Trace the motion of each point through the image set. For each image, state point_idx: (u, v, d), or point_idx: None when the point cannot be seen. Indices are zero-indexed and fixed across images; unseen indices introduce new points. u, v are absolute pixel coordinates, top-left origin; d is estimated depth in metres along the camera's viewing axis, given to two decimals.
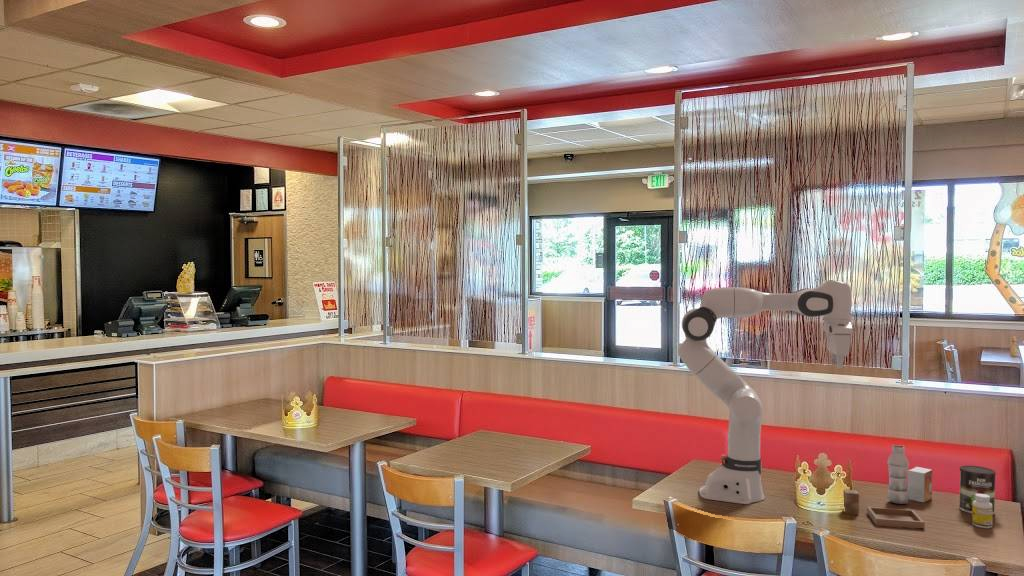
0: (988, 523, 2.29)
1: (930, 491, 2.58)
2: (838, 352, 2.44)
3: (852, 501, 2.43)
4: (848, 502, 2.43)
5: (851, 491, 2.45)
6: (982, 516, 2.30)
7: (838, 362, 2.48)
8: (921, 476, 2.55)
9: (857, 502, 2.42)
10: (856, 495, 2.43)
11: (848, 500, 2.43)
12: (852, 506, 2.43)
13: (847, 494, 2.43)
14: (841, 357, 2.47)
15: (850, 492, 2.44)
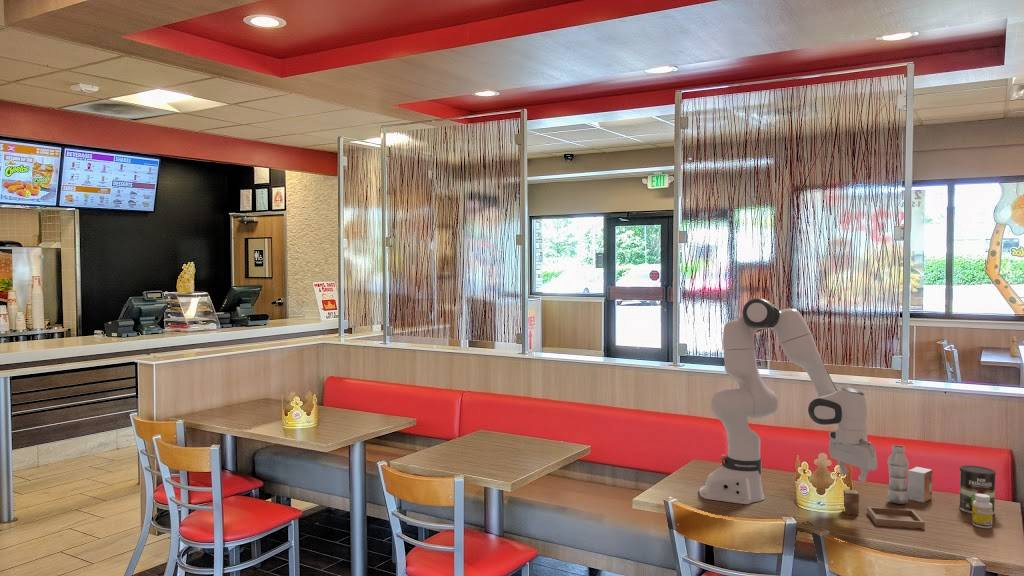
0: (988, 523, 2.29)
1: (930, 491, 2.58)
2: None
3: (852, 501, 2.43)
4: (848, 502, 2.43)
5: (851, 491, 2.45)
6: (982, 516, 2.30)
7: None
8: (921, 476, 2.55)
9: (857, 502, 2.42)
10: (856, 495, 2.43)
11: (848, 500, 2.43)
12: (852, 506, 2.43)
13: (847, 494, 2.43)
14: None
15: (850, 492, 2.44)
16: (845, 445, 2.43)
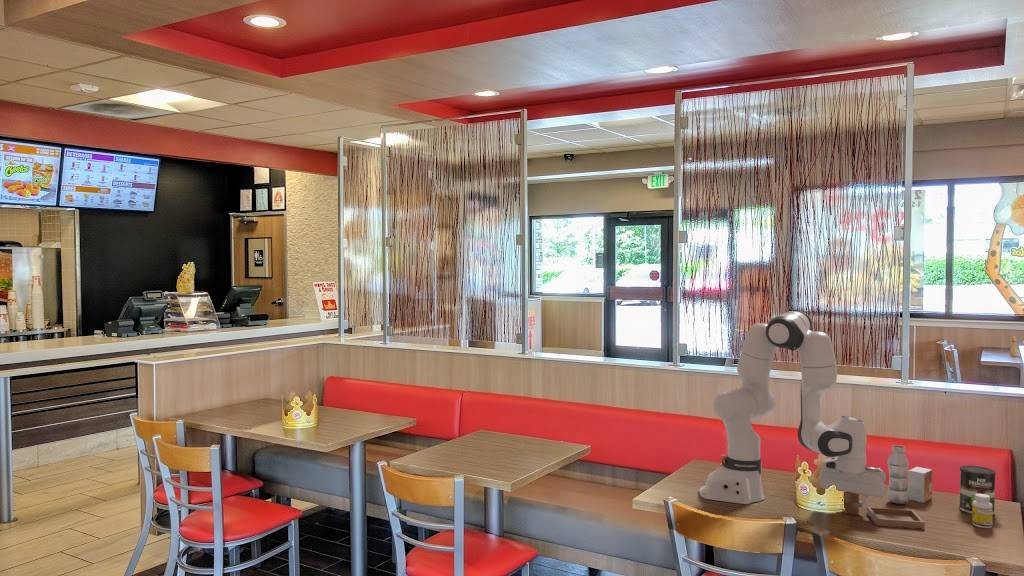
0: (988, 523, 2.29)
1: (930, 491, 2.58)
2: None
3: (852, 501, 2.43)
4: (848, 502, 2.43)
5: None
6: (982, 516, 2.30)
7: None
8: (921, 476, 2.55)
9: (857, 502, 2.42)
10: (856, 495, 2.43)
11: (848, 500, 2.43)
12: (852, 506, 2.43)
13: (847, 494, 2.43)
14: None
15: None
16: (851, 474, 2.42)
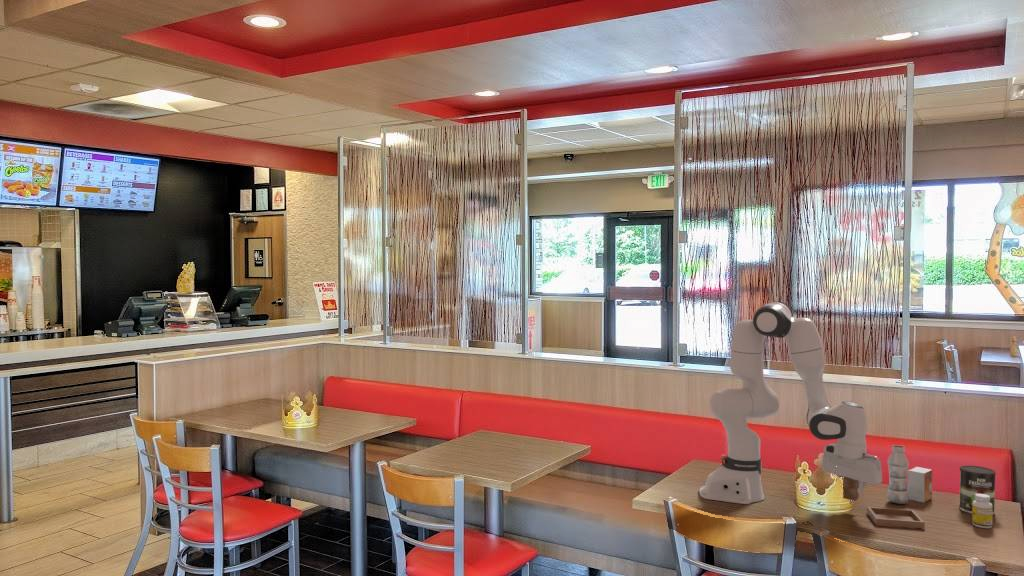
0: (988, 523, 2.29)
1: (930, 491, 2.58)
2: None
3: (849, 486, 2.43)
4: (845, 487, 2.44)
5: None
6: (982, 516, 2.30)
7: None
8: (921, 476, 2.55)
9: (854, 488, 2.42)
10: (853, 481, 2.43)
11: (845, 485, 2.44)
12: (849, 491, 2.43)
13: (844, 479, 2.44)
14: None
15: None
16: (847, 459, 2.43)
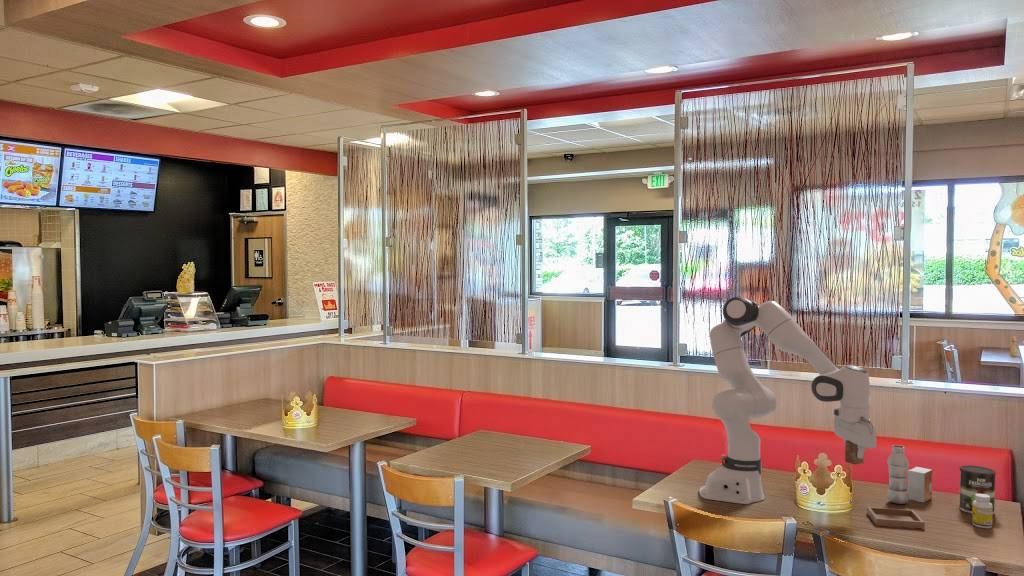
0: (989, 523, 2.29)
1: (930, 491, 2.58)
2: None
3: (850, 450, 2.43)
4: (847, 450, 2.44)
5: None
6: (982, 516, 2.30)
7: None
8: (921, 476, 2.55)
9: (854, 452, 2.42)
10: (853, 444, 2.42)
11: (847, 448, 2.44)
12: (850, 455, 2.43)
13: (846, 442, 2.45)
14: None
15: None
16: (846, 422, 2.43)
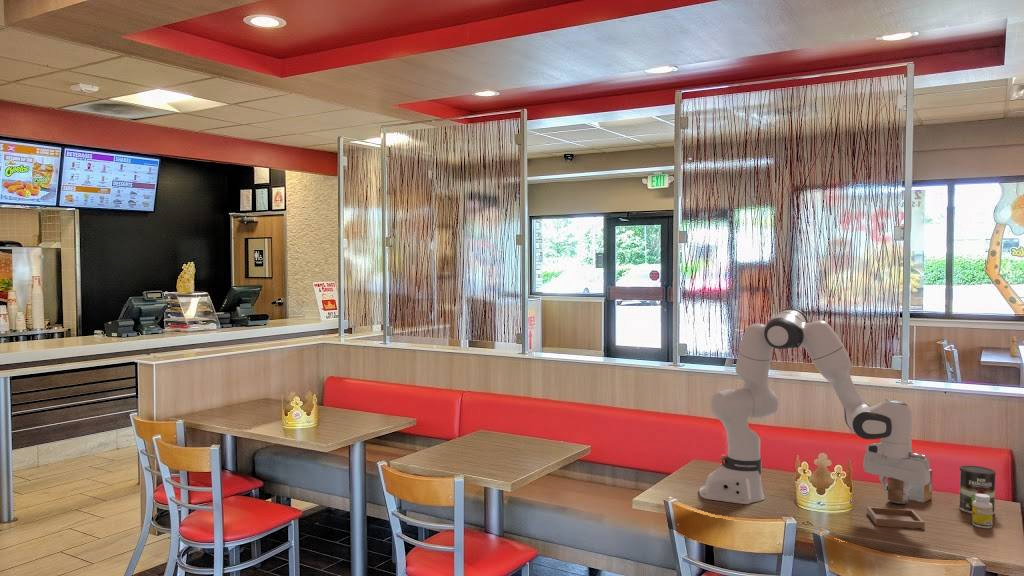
0: (988, 523, 2.29)
1: (930, 491, 2.58)
2: None
3: (894, 487, 2.34)
4: (890, 488, 2.35)
5: None
6: (982, 516, 2.30)
7: None
8: None
9: (900, 489, 2.33)
10: (898, 481, 2.33)
11: (890, 486, 2.35)
12: (894, 493, 2.34)
13: (889, 479, 2.35)
14: None
15: None
16: (892, 459, 2.33)
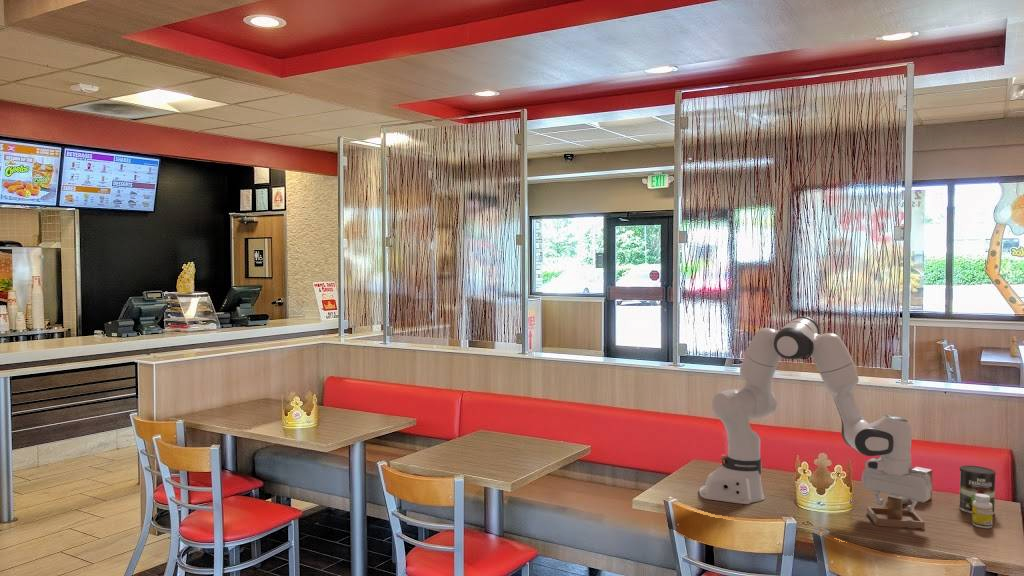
0: (988, 523, 2.29)
1: (930, 491, 2.58)
2: None
3: (894, 507, 2.34)
4: (890, 508, 2.35)
5: (896, 497, 2.36)
6: (982, 516, 2.30)
7: None
8: None
9: (899, 509, 2.34)
10: (898, 502, 2.34)
11: (890, 506, 2.35)
12: (894, 513, 2.34)
13: (888, 499, 2.35)
14: None
15: (893, 498, 2.35)
16: (893, 475, 2.33)
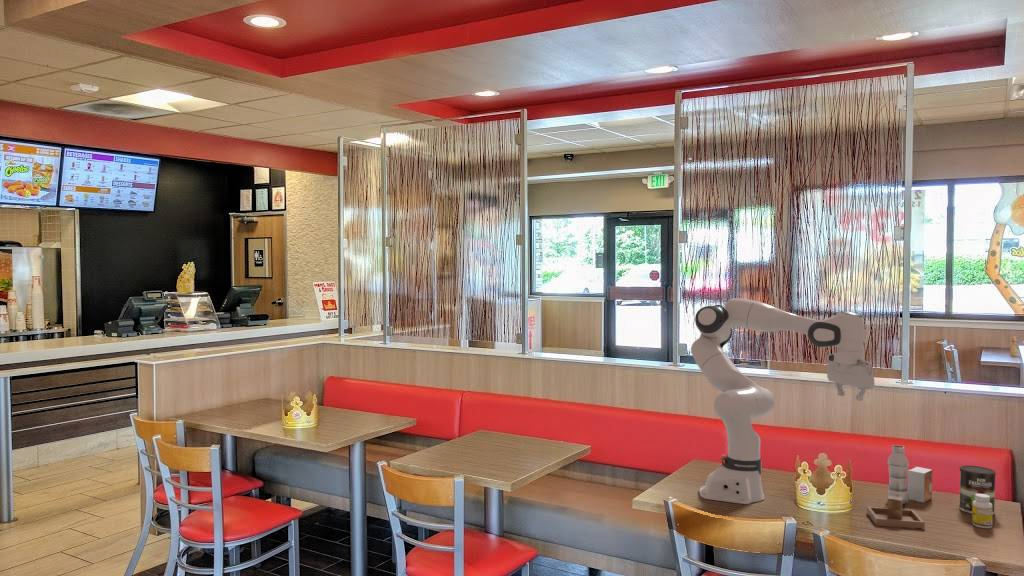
0: (988, 523, 2.29)
1: (930, 491, 2.58)
2: None
3: (894, 507, 2.34)
4: (890, 508, 2.35)
5: (896, 497, 2.36)
6: (982, 516, 2.30)
7: None
8: (921, 476, 2.55)
9: (899, 509, 2.34)
10: (898, 502, 2.34)
11: (890, 506, 2.35)
12: (894, 513, 2.34)
13: (888, 499, 2.35)
14: None
15: (893, 498, 2.35)
16: (843, 366, 2.51)
